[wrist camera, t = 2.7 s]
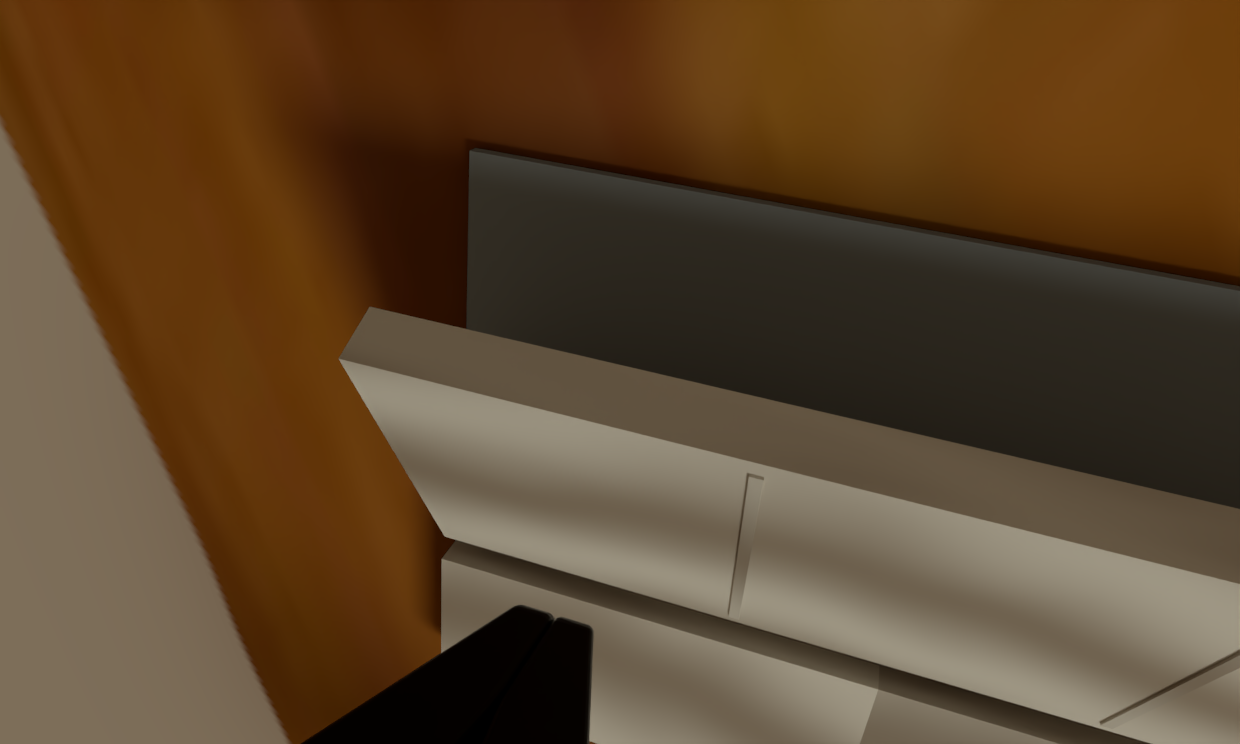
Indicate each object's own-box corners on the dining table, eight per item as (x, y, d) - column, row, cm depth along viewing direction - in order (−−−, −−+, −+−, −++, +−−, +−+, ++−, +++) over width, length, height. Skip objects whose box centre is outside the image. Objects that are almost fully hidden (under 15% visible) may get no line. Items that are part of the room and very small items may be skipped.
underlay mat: (1343, 938, 20) (1349, 951, 20) (464, 653, 25) (460, 660, 25) (1820, 391, 13) (1838, 400, 13) (475, 147, 18) (469, 150, 18)
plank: (1439, 767, 17) (1451, 834, 17) (463, 495, 22) (443, 538, 22) (1909, 665, 11) (1958, 768, 10) (369, 306, 16) (336, 361, 15)
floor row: (1301, 935, 20) (1322, 988, 19) (460, 660, 25) (441, 690, 24) (1424, 787, 18) (1455, 839, 17) (462, 513, 22) (441, 540, 21)
